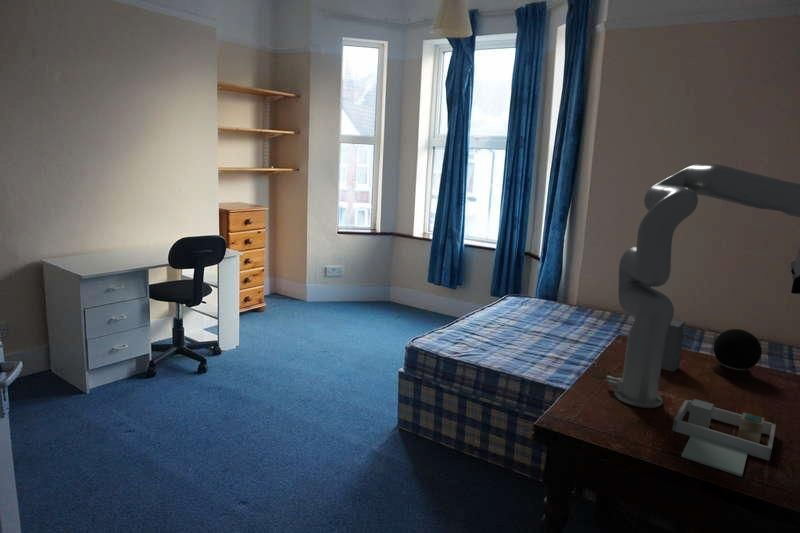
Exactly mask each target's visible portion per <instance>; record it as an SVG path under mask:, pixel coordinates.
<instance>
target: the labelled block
mask: <svg viewBox="0 0 800 533" xmlns="http://www.w3.org/2000/svg"><path fill="white" fill-rule="evenodd" d="M741 415H742V417H741V422H740V427H739V426H738V427H739V428H738V432H737V437H738V438H742V439H745V440H748V441H752V442H755V443H758V444H760V442H761V436H762V433H761V432H762V428H763V423H764V421H765V417H761V416H758V415H754V414H751V413H747V412H744V411H743V412H742V414H741Z"/></svg>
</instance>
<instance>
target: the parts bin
mask: <svg viewBox="0 0 800 533" xmlns="http://www.w3.org/2000/svg"><path fill="white" fill-rule="evenodd" d="M692 402H693V400H690V399H687V398H686V399H685V400H684V402H683V403H682V405H681V407H680V408H679V410H678V412H677V413H676V415H675V417H674V419H673V422H672V428H671V431H672V432H675V433H679V434H681V435H685V436H688V437H690V436H691V435H694V436H698V437H701V438H704V439H707V440H710V441H714V442H717V443H720V444H723V445H727V446H730V447H733V448H736V449H740V450H743V451H746V452H748V454H747V455H749V456H752V457H756V458H759V459H762V460H766V461H768V462H770V459H771V455H772V449H773V444H774V440H775V439H774V437H775V434H776V428H777V427H776V426H777V424H776V423H773V422H770V421H765V420H764V423H763V428H762V432H761V434H763V435H768V436H769V438H768V443H767V445H764V444H762V443H759V444H758V443H755V442H752V441H748V440H745V439H742V438H738V436H735V435H732V434H727V433H724V432H721V431H718V430H716V429H715V430H714V429H711V428H709V429H708V428H705V427H701V426H698V425H695V424H691V423H688V421H684V420H683V419H684V416H685V415H686V413H687V412H689V413H690V408H691V404H692ZM741 417H742V414H740V413H736V412H733V411H731V410H726V409H722V408H718V407H716V406H713V411H712V416H711V420H712V419H713V420H716V421H719V422H722V423H725V424H729V425H733V426H736V427H740V422H741Z"/></svg>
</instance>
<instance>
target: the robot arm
mask: <svg viewBox="0 0 800 533" xmlns="http://www.w3.org/2000/svg"><path fill="white" fill-rule="evenodd" d="M698 196H704V197H708V198H714V199H717V200H721V201H725V202H729V203H730V202H731V203H734V204H737V205H740V206H741V205H742V206H745V207H750V208H754V209H760V210H768V211H769V210H771V211H778V212H782V213H783V214H785V215H786V216H790V217H794V218H800V183H796V182H790V181H787V180H782V179H779V178H775V177H771V176H766V175H763V174H762V175H761V174H757V173H755V172H751V171H747V170H742V169H740V168H734V167H731V166H727V165H723V164H719V163H718V164H717V163H695V164H692V165H690V166H687V167H685V168H684V169H681V170H680V171H677V172H676V173H674V174H672V175H670V176H668V177H667V178H664V179H663V180H661V181H659V182H657V183H655V184H653V185H652V186H651V187H650V188H649V189H648V190H647V191H646V193H645V195H644V199H643V203H644V206H645V208H646V210H647V213H646V214H645V215H644V217H643V218H642V220H641V222H640V224H639V227H638V231H637V235H636V236H637V237H636V238H637V239H636V246H632V247H630V248H628V249H626V250H625V251H624V253H623V254H622V256H621V258H620V261H619V265H618V267H619V268H618V303H619V305H620V307H621V308H622V309H621V310H623V311H624V312H625V313H627V314H629V315H630V316H631V317H633V318H634V319H633V320H634V321H633V323H632V325H631V327H630V329H629V332H628V335H627V340H626V350H625V355H624V356H625V357H624V362H623V370H622V375H621V377H618V378H617V377H614V376H612V375H606V378H605V382H607V385H608V386H613V387H615V388H614V392H613V395H614V396H615V397H616V399H618V400H619V401H621V402H623V403H625V404H627V405H628V406H629V405H630V406H633V407H638V408H644V409H646V408H647V409H654V408H658V407H660V406H662V404H663V397H662V396H661V394H658V391H659V390H658V389H659V385H660V379H661V371H662V369H661V367H662V360H663V354H664V347H665V341H666V336H667V332H668V329H669V326H670V324H671V321H672V320H673V318H674V313H675V309H674V304H673V302H672V301H671V299H670V298H669V297H668V296H667V294H664V293H662V292H661V291H659V290H657V289H655V288H654V287H661V286H663V285H665V284H666V283H667V281H668V280H669V279H670V275H671V265H672V263H671V262H672V246H673V245H672V243H673V236H674V233H675V230H676V229H677V227H678V226H679V225H680V224H681V223H682V222H683V221H684V220H686V219H687V218H688V217H690V216H691V215H692V214H693V213H694V212H695V210H696V209H697V207H698V202H699V200H698V198H699V197H698ZM790 268H791V270H790V271H791V272H790V273H791V274H792V276H791V278H792V280H793V281H792V286H791V291H790V293H792V294H796V295H797V294H798V295H799V294H800V248H799V249H798V252H797V254H796V259H795V260H793V261H791V262H790Z"/></svg>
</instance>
